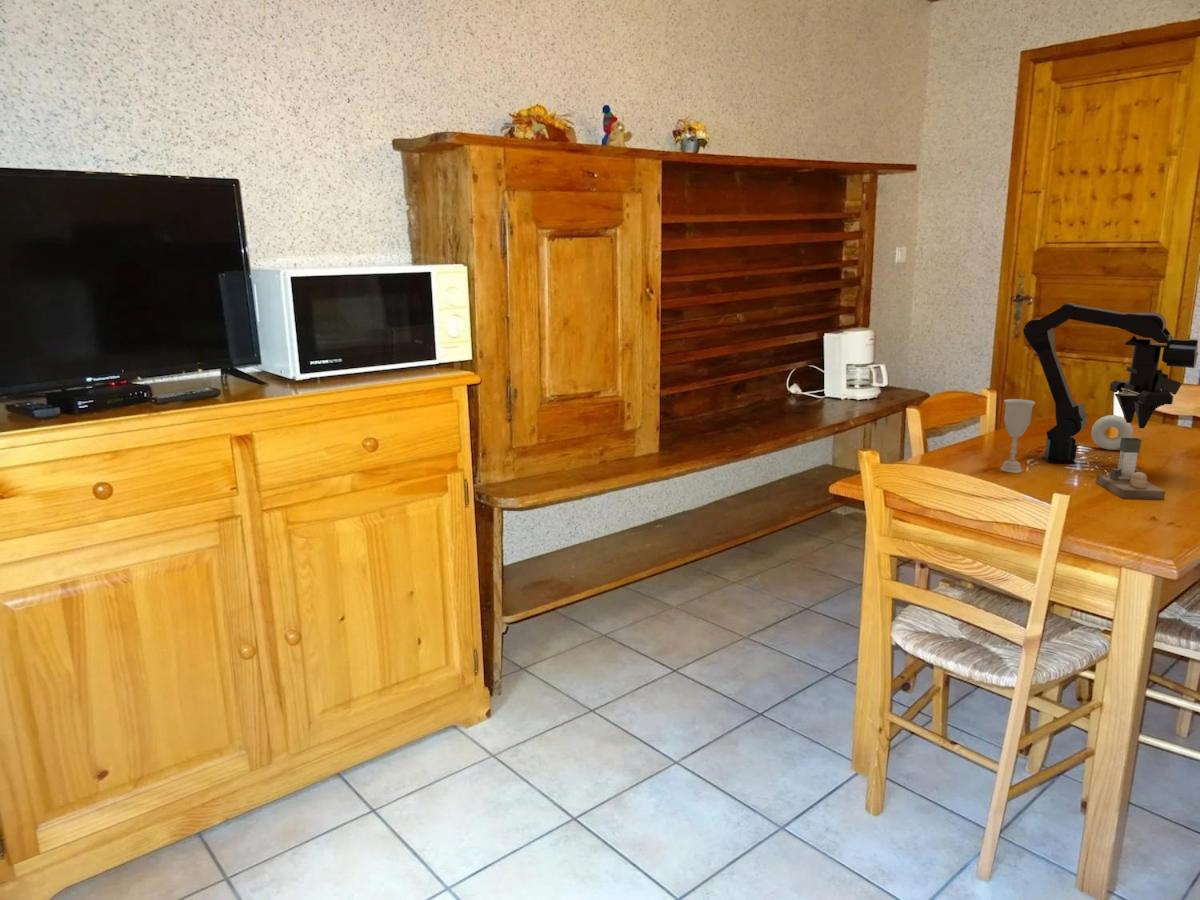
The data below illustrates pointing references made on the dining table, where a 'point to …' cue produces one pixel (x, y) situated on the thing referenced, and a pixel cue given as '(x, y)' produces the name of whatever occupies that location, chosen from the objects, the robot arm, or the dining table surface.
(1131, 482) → the beige egg
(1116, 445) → the donut
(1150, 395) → the robot arm
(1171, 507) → the dining table surface
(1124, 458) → the grey blocky upright piece
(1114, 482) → the grey base plate stand
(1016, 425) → the chalice
